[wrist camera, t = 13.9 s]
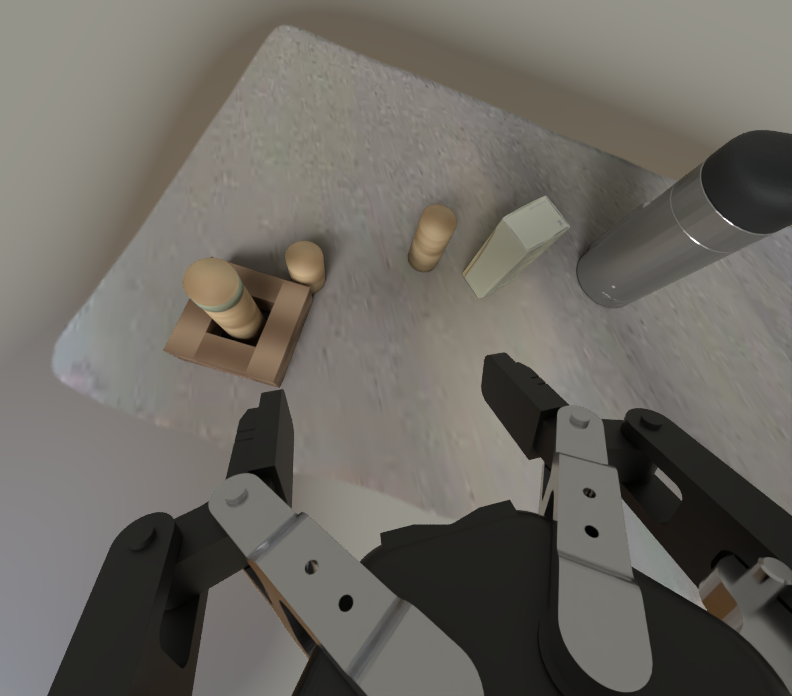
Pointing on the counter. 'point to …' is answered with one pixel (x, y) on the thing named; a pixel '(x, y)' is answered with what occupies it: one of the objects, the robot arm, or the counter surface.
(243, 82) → the counter surface
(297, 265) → the short pin
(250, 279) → the socket block
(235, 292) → the tall pin
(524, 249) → the skincare box
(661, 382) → the counter surface
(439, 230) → the medium pin
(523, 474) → the counter surface
